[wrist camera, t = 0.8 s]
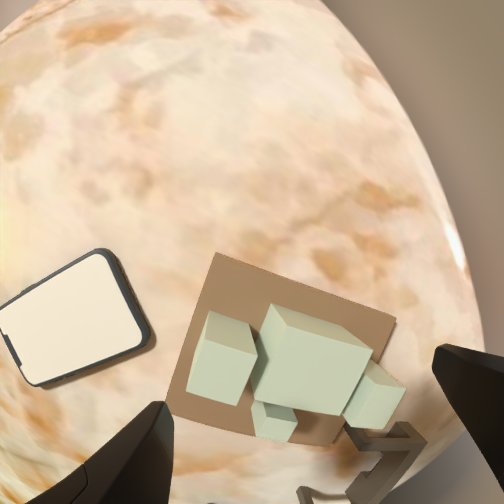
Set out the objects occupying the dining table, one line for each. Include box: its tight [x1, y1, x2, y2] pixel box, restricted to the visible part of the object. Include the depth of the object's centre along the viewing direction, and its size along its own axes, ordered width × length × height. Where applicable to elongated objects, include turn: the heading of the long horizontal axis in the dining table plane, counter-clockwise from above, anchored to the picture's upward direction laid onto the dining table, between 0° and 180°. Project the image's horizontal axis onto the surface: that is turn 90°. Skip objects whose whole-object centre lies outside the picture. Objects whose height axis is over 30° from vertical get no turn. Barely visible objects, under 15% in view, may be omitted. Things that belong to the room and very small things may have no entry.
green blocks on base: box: [165, 252, 406, 447], centre depth 19 cm, size 14×16×8 cm
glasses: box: [296, 421, 428, 504], centre depth 22 cm, size 9×12×4 cm
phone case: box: [0, 248, 150, 387], centre depth 21 cm, size 9×2×16 cm
